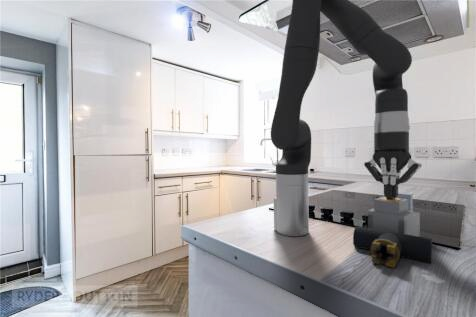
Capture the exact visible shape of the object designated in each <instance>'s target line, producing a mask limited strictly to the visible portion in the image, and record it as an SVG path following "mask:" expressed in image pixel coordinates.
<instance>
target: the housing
mask: <svg viewBox="0 0 476 317" xmlns="http://www.w3.org/2000/svg"><path fill="white" fill-rule="evenodd" d="M382 198H385V196H384V195H383V196H380V197H378V198H374V199H373V207H372V208H371V209H368V210H367V228H371V229H376V230H382V231H388V232H394V233H400V234H406V235H412V236H418V237H421V236H420V233H421V232H420V228H421V226H420V225H421V222H420V221H421V218H420V217H421V212H419V211H408V199H401V200H400V201H398V202H394V201H387V200H380V199H382ZM397 199H400V198H397Z"/></svg>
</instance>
